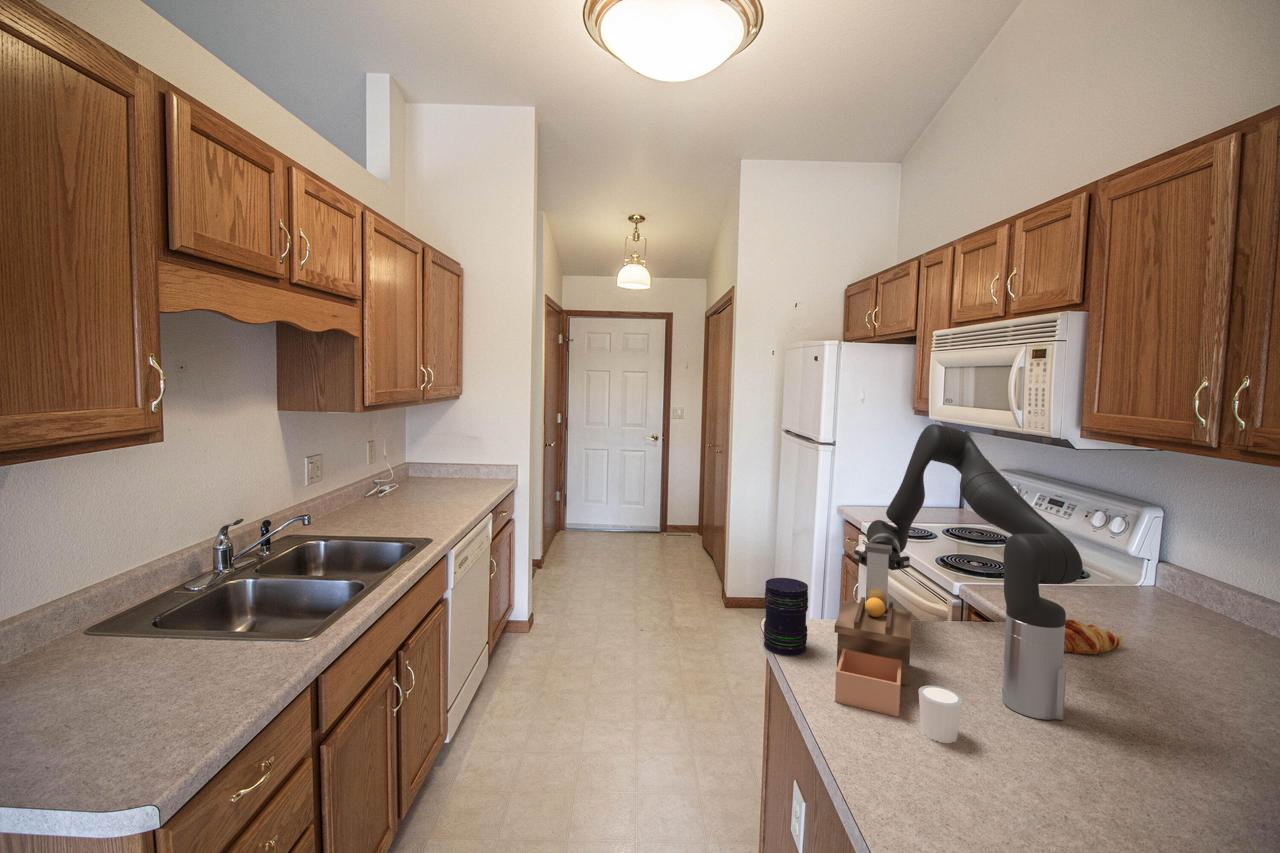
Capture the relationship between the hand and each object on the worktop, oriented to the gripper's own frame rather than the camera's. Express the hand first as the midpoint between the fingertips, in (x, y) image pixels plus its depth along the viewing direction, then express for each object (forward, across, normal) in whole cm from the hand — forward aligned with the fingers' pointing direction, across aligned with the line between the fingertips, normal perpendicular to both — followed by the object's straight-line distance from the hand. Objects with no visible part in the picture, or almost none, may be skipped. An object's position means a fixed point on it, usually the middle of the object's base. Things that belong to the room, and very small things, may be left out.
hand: (878, 568), depth 129 cm
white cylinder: (+28, +12, +20) cm, 37 cm away
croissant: (-27, +43, +20) cm, 55 cm away
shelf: (+10, 0, +20) cm, 22 cm away
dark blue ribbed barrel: (+6, -19, +20) cm, 29 cm away
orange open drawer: (+20, 0, +20) cm, 28 cm away
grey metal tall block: (+5, 0, +8) cm, 9 cm away
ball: (+9, 0, +6) cm, 11 cm away
